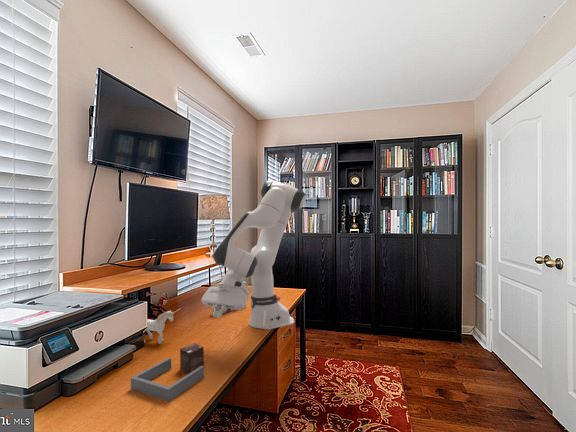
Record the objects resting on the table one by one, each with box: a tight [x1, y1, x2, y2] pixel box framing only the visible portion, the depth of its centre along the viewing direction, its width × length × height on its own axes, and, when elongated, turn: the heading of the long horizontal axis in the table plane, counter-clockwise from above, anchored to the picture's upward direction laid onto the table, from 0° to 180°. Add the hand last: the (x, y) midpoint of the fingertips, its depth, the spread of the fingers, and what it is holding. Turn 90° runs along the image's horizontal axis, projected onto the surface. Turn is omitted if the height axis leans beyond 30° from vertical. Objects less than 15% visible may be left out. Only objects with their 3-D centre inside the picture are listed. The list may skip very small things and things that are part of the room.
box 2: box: [179, 342, 205, 374], centre depth 110 cm, size 6×6×7 cm
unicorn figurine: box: [143, 307, 182, 345], centre depth 135 cm, size 7×20×13 cm, turn 93°
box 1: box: [130, 357, 205, 403], centre depth 100 cm, size 15×16×4 cm
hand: (216, 316), depth 122 cm, fingers closed
